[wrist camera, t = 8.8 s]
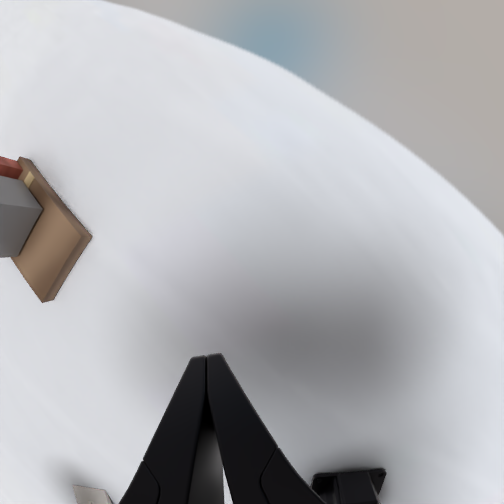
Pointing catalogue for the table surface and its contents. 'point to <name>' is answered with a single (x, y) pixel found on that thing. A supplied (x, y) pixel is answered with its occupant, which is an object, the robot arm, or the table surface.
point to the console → (46, 233)
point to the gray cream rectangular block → (15, 215)
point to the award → (90, 495)
